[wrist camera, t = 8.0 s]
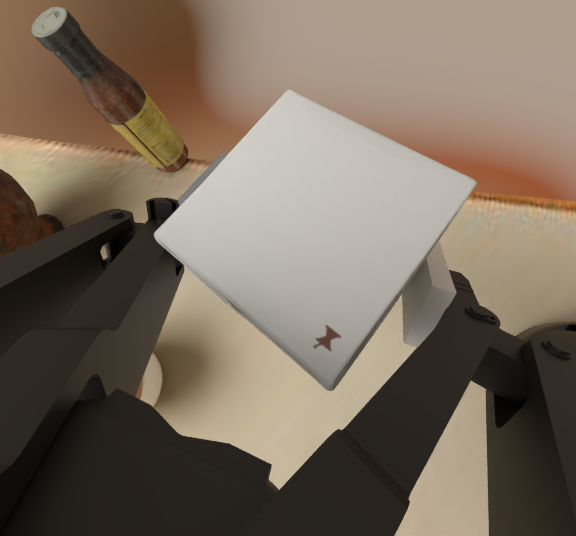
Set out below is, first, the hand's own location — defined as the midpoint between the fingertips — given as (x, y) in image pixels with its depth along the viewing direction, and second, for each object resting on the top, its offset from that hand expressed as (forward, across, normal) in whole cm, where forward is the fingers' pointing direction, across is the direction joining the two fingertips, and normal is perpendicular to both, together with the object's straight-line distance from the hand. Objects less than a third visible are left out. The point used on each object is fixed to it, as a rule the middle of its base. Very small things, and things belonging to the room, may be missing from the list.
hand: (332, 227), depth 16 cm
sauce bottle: (+23, -31, -4) cm, 39 cm away
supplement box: (+1, 0, -6) cm, 6 cm away
